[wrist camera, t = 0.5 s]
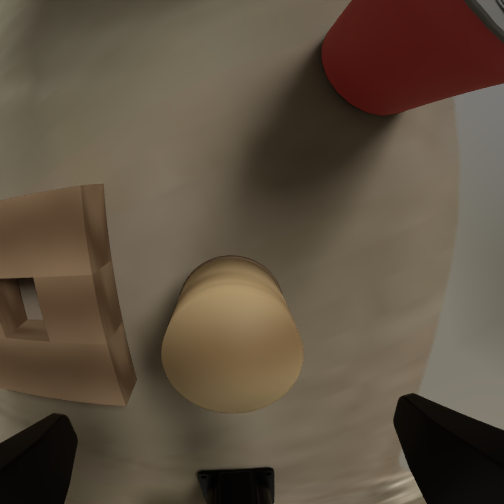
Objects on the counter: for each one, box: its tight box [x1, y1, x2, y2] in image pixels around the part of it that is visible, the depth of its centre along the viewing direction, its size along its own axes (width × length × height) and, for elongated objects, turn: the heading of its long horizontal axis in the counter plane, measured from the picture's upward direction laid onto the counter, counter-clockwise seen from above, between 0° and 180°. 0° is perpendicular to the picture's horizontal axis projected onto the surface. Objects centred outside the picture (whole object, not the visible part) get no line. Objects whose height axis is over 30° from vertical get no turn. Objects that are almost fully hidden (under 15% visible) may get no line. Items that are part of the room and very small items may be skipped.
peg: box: [161, 256, 304, 413], centre depth 14 cm, size 5×5×8 cm
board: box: [0, 184, 137, 406], centre depth 16 cm, size 13×12×3 cm
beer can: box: [322, 0, 504, 116], centre depth 10 cm, size 7×7×12 cm
